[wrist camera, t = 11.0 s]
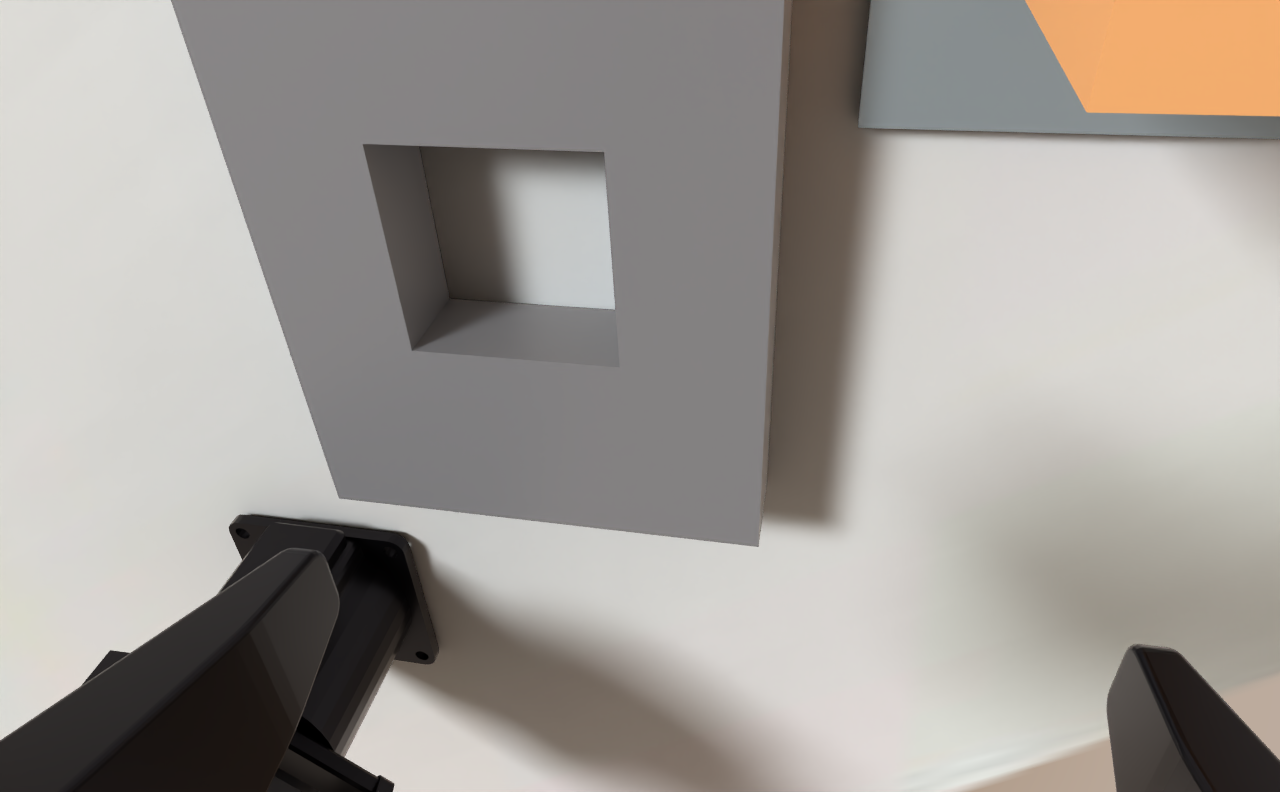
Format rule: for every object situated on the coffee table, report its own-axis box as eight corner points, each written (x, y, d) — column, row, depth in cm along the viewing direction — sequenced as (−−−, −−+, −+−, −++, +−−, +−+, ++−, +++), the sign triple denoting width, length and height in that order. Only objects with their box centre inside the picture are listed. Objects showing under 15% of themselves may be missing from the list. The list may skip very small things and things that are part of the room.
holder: (767, 483, 25) (758, 546, 23) (377, 443, 28) (339, 498, 26) (802, -191, 16) (793, -178, 14) (200, -167, 18) (119, -153, 16)
